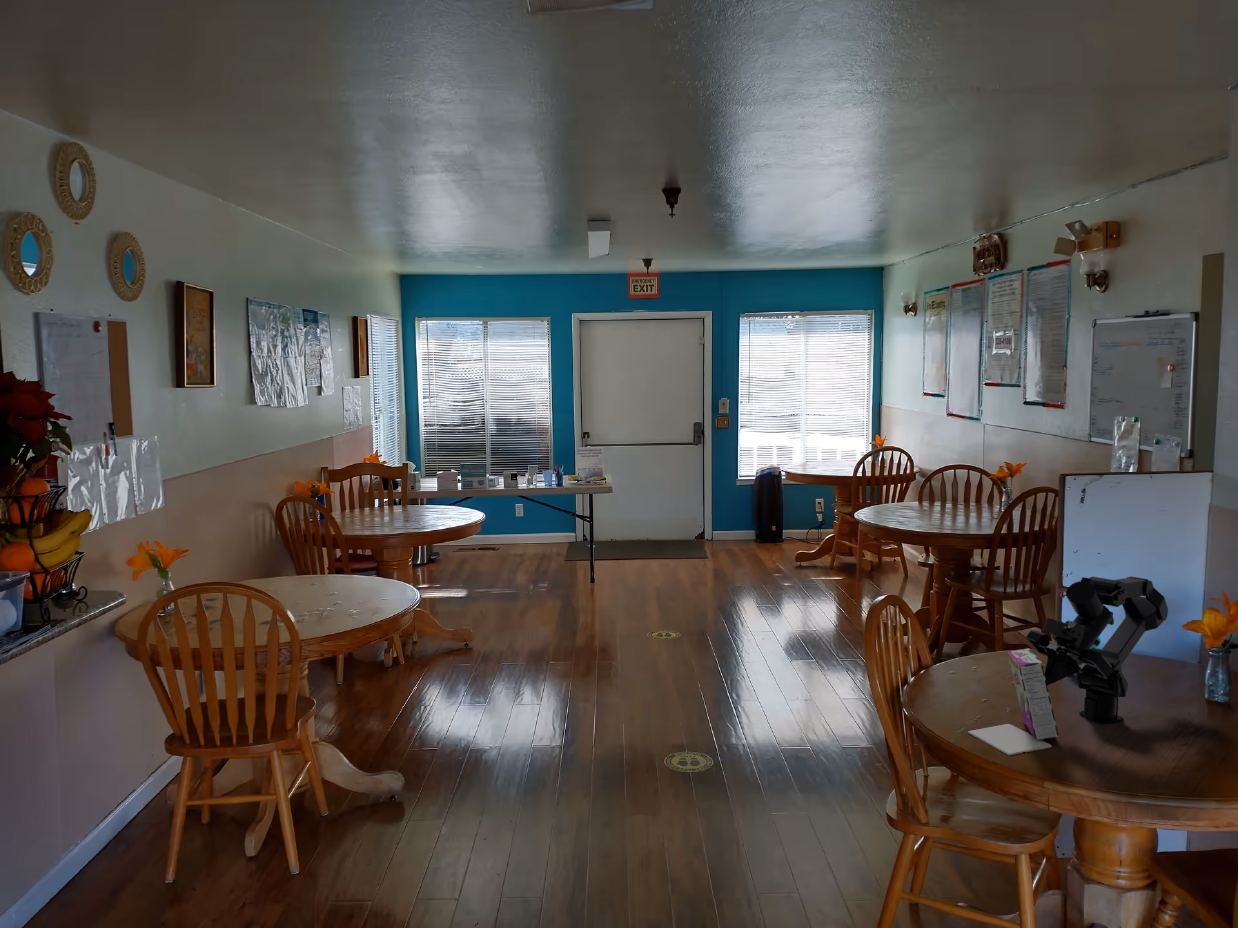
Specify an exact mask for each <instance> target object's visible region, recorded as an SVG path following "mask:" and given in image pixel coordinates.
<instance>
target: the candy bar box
mask: <svg viewBox="0 0 1238 928" xmlns="http://www.w3.org/2000/svg"><path fill="white" fill-rule="evenodd" d="M1007 656H1008V661H1009V665H1010V669H1011V673H1012V677H1013V684H1014V685H1015V690H1016V694H1017V699H1018V702H1019V708H1020V712H1021V715H1022V721H1023V724H1024V725H1025V726H1026V727H1027V729H1028V730H1029V732H1030V733H1031V735H1032V736H1034V738H1035V739H1036V740H1042V741H1044V740H1047V739H1053V738H1054V739H1055V738H1060V736H1059V732H1058V727H1057V722H1056V717H1055V714H1054V713H1055V712H1054V709H1053V705H1052V702H1051V701H1052V700H1051V696H1050V692H1049V687H1048V686H1047V682H1046V678H1045V674H1044V673H1045V670H1044V665H1043V662H1042V661H1041V660H1040V659H1039V658H1038V656H1037V655H1036V654H1035V652H1033V651H1032V650H1031V648H1030V647H1029V648H1022V649H1016V650H1010V651H1007Z"/></svg>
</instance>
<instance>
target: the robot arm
mask: <svg viewBox="0 0 1238 928" xmlns="http://www.w3.org/2000/svg"><path fill="white" fill-rule="evenodd" d="M1065 595H1066V598H1067V599H1068V602H1069V603H1070V606H1071V607H1072V609H1073V611H1074V612H1075V614H1076V615H1077V616H1076V617H1075V618H1074V620H1073V621H1072V620H1067V621H1065V622H1063V621H1061V620H1057V619H1054V618H1051V617H1048V616H1047V617H1046V620H1045V622H1044V625H1043V628H1042V630H1041V631H1042V632H1041V631H1039V630H1036V629H1035V630H1034V629H1033V630H1030V631H1029V632H1028V634H1027V635H1026V636H1025V640H1026V641H1028V643H1029V644H1030V645H1031V646H1032V647H1033V649H1035V651H1036V652H1037V653H1039V654H1040V655H1043V656H1046V657H1047V661H1046V665H1045V670H1044V674H1045V678H1046V682H1047V687H1048V686H1050V685H1052V684H1054V683H1056V682H1058V681H1061V680H1063V679H1065V678H1067V677H1068V678H1069V677H1070V676H1074V675H1073V674H1076V673H1077V676H1076V679H1077V686H1078V689H1080V690H1081V689H1083V690H1085V696H1084V701H1083V703H1084V704H1083V706H1084V707H1083V709H1084V710H1081V711H1079V712H1078V714H1079V716H1080V715H1081V716H1082V717H1085V718H1087V719H1090V720H1092V721H1093V722H1096V723H1099V724H1101V725H1106V724H1110V723H1111V724H1112V723H1116V722H1120V721H1124V717H1123V716H1121V715H1119V699H1120V698H1125V697H1127V692H1128V686H1129V683H1128V681H1127V680H1126V678H1125V676H1124V674H1123V669H1122V668H1123V666H1122V665H1123V664H1124V662H1125V661H1126V659H1127V658H1128V656H1129V655H1130V653H1131V652H1132V651H1133V650H1134V648H1135V647H1136V645H1137V643H1138V642H1139V640H1141V638H1142V637H1143V635H1144V634H1145V632H1148V631H1153V630H1156V629H1158V628H1159V627H1160V626H1162V624H1163V622H1164V621H1166V620H1167V618H1168V616H1169V615H1168V614H1169V607H1168V604H1167V602H1166V599H1165V597H1164V595H1163V594H1161V592H1160V591H1158V590H1157V589H1156V588H1155V587H1154V584H1153V581H1152V580H1150V579H1149V578H1142V577H1137V576H1127V577H1125V578H1118V579H1111V578H1110V579H1109V578H1104V577H1099V576H1098V577H1097V576H1094V575H1093V576H1090V577H1086V576H1082V577H1081V579H1080V580H1079V581H1075V582H1073V583H1072V584H1071V585H1069V586H1068V587H1067V589H1066V591H1065ZM1107 606H1109V607H1116V608H1119V607H1120V606H1122V608H1123V611H1124V617H1125V618H1124V619H1123V620H1122V622H1121V623H1120V624H1119V625H1118V627H1117V628H1116V630H1115V631H1114V632H1113V634H1112V635H1111V636H1110V638H1109V639H1108V640H1107V642H1106V643H1105V645H1104V646H1103V647H1102V649H1099V648H1091V646H1092V645H1096V646H1098V645H1099V643H1100V642H1099V641H1098V639H1097V638H1098V637H1100V636H1101V634H1102V632H1104V630H1105V629H1106V627H1107V626H1108V625H1111V626H1113V625H1114V624H1115V618H1114V612H1113V611H1110V610H1109V608H1108V607H1107ZM1044 632H1045V633H1044ZM1046 632H1047V633H1049V634H1051V635H1052V637H1050V636H1049V635H1048V634H1047V633H1046ZM1052 638H1053V639H1054V641H1053V639H1052ZM1055 641H1056V642H1055ZM1100 644H1101V643H1100ZM1099 646H1100V645H1099ZM1099 646H1098V647H1099ZM1090 648H1091V649H1090Z"/></svg>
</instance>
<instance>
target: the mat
mask: <svg viewBox="0 0 1238 928" xmlns="http://www.w3.org/2000/svg"><path fill="white" fill-rule="evenodd" d="M967 734H969V735H971V736H973V737H975V738H976V739H978V740H979V741H982V742H984V743H986V744H987V745H988V746H991V747H993V748H994V749H996V750H998V751H1000V752H1002V753H1003V754H1005V755H1007V756H1013V755H1018V754H1024V753H1023V752H1025V753H1028V752H1033V751H1034V750H1035V751H1039V750H1040V751H1041V750H1045V749H1050V748H1052V745H1051V744H1050V743H1048V742H1045V741H1044V740H1036V739H1035V738H1034V736H1033V735H1032V734H1030V733H1028V732H1027V731H1024V730H1022V729H1020V728H1018V727H1017V726H1015V725H1012V724H1010V723H1004V724H999V725H995V726H994V725H993V726H990V727H989V726H988V727H983V728H978V729H973V730H972V729H971V730H968V731H967Z"/></svg>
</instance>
